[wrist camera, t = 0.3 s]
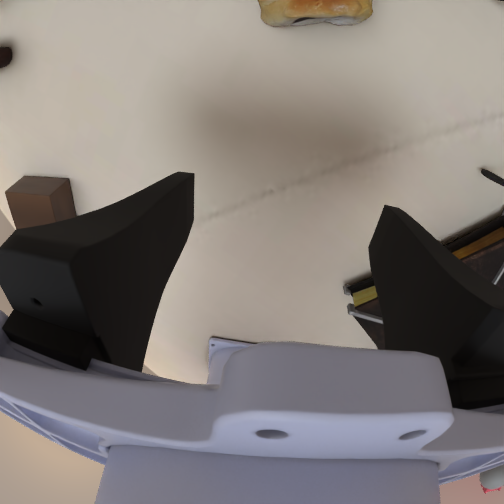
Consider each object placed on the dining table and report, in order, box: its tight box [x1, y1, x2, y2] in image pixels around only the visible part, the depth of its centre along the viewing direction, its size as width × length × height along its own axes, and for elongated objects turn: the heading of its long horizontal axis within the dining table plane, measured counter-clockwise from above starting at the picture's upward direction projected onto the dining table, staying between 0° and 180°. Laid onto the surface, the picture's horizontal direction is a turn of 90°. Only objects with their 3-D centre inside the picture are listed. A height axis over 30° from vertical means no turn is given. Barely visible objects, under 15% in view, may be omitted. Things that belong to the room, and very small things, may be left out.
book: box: [343, 210, 504, 350], centre depth 26 cm, size 22×17×5 cm
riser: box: [5, 176, 76, 229], centre depth 24 cm, size 6×6×3 cm
